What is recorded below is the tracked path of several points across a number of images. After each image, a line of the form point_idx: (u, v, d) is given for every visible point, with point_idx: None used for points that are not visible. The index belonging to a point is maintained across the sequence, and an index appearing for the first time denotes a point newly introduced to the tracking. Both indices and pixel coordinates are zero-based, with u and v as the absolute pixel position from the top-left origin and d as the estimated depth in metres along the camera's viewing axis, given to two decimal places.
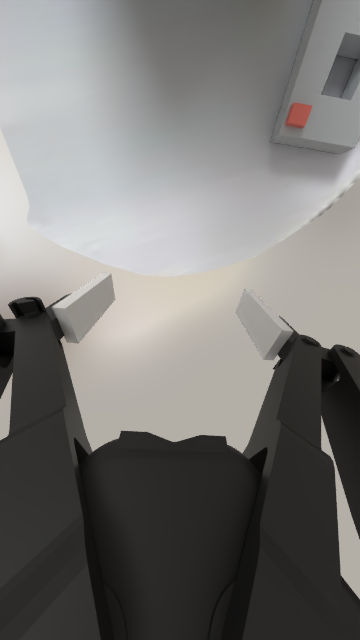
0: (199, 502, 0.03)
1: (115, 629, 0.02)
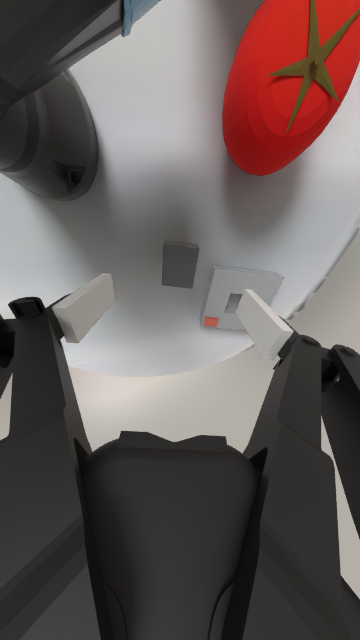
0: (199, 502, 0.03)
1: (115, 627, 0.02)
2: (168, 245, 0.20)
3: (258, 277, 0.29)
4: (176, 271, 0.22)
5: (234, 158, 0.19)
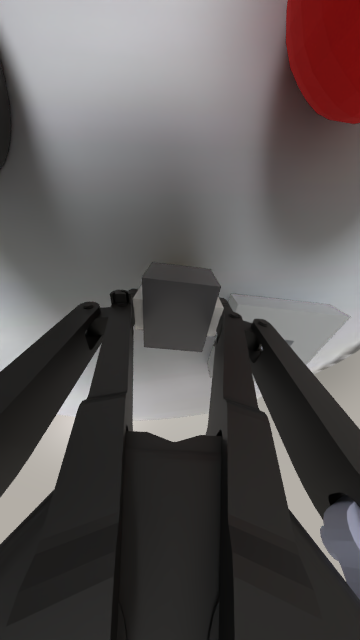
0: (199, 502, 0.03)
1: None
2: (152, 280, 0.09)
3: (308, 316, 0.18)
4: (171, 326, 0.11)
5: (317, 67, 0.07)
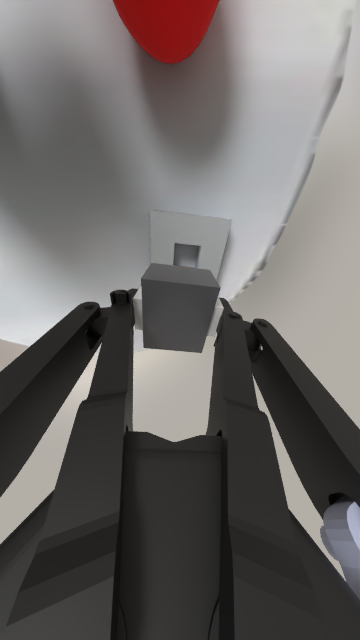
0: (199, 502, 0.03)
1: None
2: (152, 281, 0.09)
3: (202, 220, 0.25)
4: (171, 327, 0.11)
5: (128, 27, 0.14)
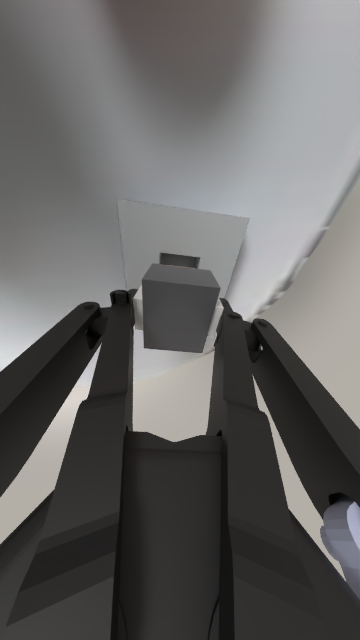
0: (199, 502, 0.03)
1: None
2: (152, 281, 0.09)
3: (202, 218, 0.16)
4: (171, 327, 0.11)
5: None
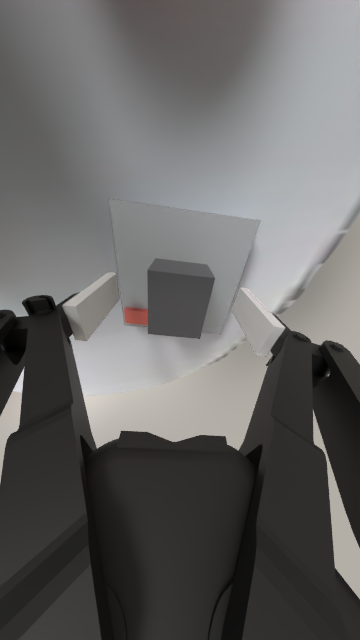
0: (199, 502, 0.03)
1: (116, 631, 0.02)
2: (156, 272, 0.11)
3: (206, 220, 0.14)
4: (172, 314, 0.13)
5: None
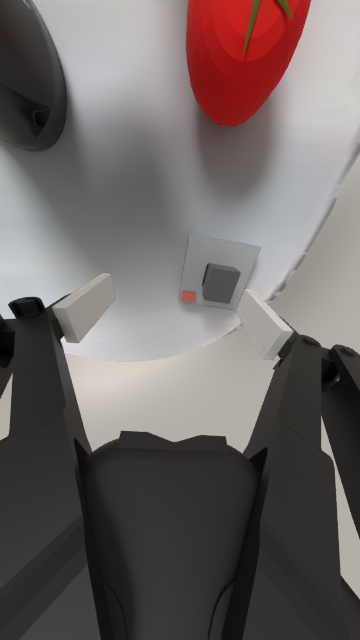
0: (199, 502, 0.03)
1: (115, 629, 0.02)
2: (216, 269, 0.25)
3: (234, 246, 0.28)
4: (218, 289, 0.27)
5: (200, 101, 0.18)
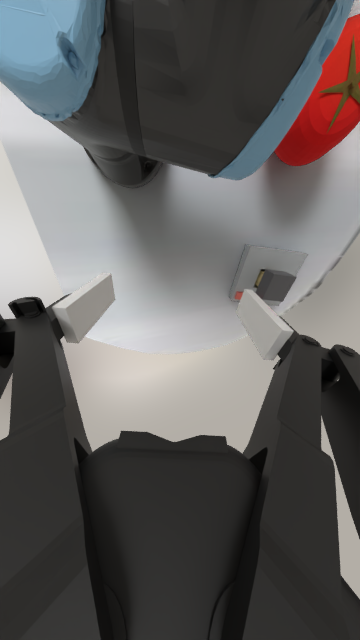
0: (199, 502, 0.03)
1: (115, 627, 0.02)
2: (277, 275, 0.31)
3: (286, 254, 0.34)
4: (276, 290, 0.33)
5: (279, 152, 0.24)
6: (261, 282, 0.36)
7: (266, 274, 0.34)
